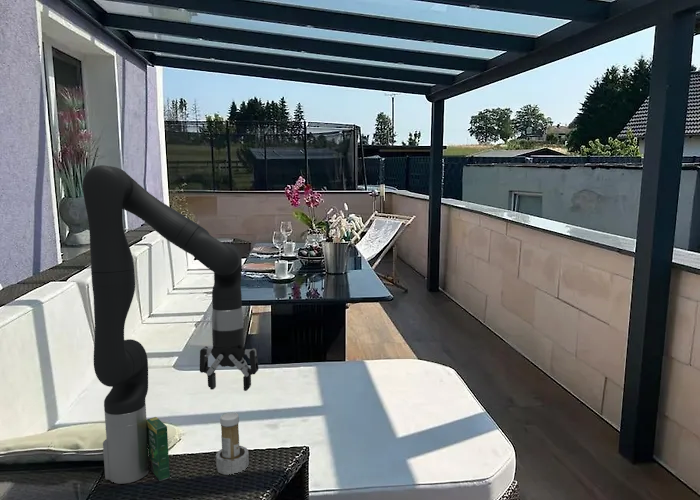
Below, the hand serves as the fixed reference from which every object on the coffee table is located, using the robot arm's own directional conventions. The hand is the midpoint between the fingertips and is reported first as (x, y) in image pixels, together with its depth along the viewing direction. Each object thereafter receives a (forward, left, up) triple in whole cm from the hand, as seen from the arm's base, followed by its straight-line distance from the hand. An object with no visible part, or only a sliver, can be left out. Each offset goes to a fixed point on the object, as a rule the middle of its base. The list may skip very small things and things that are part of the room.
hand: (229, 389), depth 128 cm
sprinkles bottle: (0, 0, -20) cm, 20 cm away
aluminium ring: (0, 0, -20) cm, 20 cm away
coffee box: (-17, -5, -21) cm, 27 cm away
